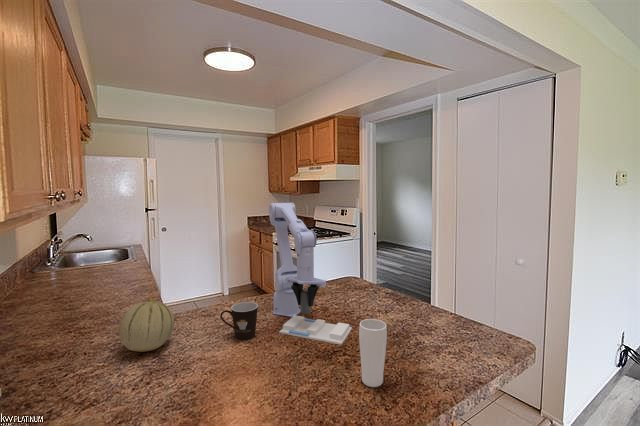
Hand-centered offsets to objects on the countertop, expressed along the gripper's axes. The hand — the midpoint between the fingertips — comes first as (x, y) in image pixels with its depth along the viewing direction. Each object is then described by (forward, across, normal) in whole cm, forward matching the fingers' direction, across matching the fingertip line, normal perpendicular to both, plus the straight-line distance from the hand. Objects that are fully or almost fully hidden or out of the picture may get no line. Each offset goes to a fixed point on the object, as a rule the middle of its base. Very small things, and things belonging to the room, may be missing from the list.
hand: (305, 305), depth 108 cm
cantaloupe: (+9, -39, -30) cm, 50 cm away
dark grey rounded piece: (+3, 0, +3) cm, 4 cm away
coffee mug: (+9, -18, -12) cm, 23 cm away
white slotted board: (+9, +4, 0) cm, 9 cm away
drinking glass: (+9, +28, -21) cm, 36 cm away
